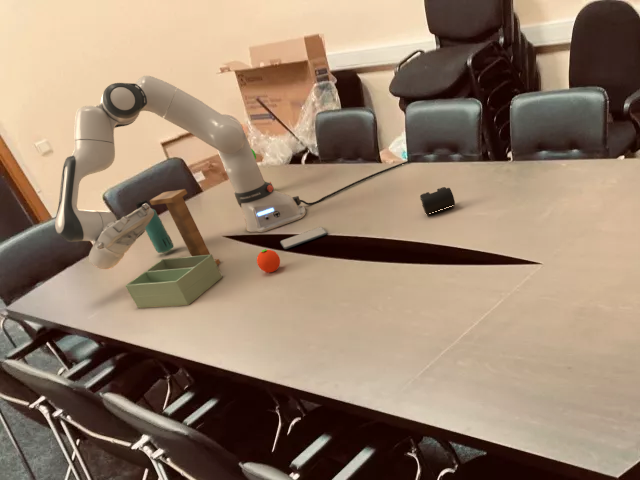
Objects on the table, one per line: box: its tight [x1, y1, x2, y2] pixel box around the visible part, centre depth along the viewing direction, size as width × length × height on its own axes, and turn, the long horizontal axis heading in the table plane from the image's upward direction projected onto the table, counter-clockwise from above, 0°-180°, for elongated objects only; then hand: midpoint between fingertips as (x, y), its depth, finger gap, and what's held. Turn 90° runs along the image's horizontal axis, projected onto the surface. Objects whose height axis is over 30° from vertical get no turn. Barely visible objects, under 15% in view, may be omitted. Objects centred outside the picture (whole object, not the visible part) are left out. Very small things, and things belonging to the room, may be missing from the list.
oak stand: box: [149, 188, 221, 266], centre depth 233 cm, size 9×7×26 cm
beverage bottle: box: [135, 199, 175, 254], centre depth 257 cm, size 6×7×20 cm
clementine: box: [256, 248, 281, 273], centre depth 222 cm, size 8×7×7 cm
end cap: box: [419, 186, 456, 217], centre depth 233 cm, size 10×7×7 cm
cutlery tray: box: [124, 253, 223, 309], centre depth 224 cm, size 20×18×8 cm
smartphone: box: [279, 226, 328, 250], centre depth 241 cm, size 8×1×15 cm
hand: (136, 211), depth 217 cm, fingers open, 8 cm apart
